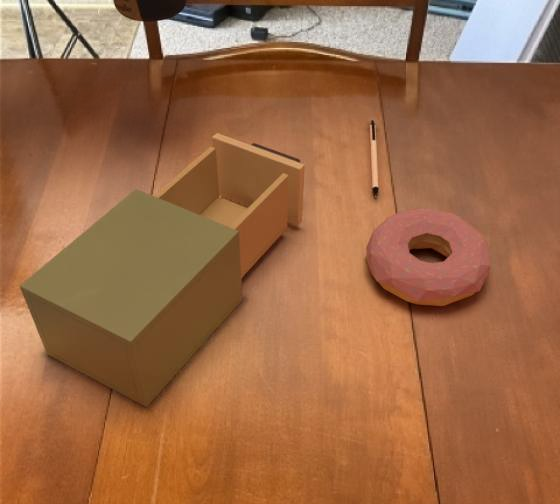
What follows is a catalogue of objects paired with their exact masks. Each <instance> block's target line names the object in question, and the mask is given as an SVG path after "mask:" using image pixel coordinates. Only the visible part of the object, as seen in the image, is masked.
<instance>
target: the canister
mask: <svg viewBox="0 0 560 504" xmlns="http://www.w3.org/2000/svg"><path fill="white" fill-rule="evenodd" d="M187 1H188V0H112V2H113V5H114V7H115V9H116V11H117V12H118V13H119V14H120V15H121V16H123V17H125V18H127V19H129V20H131V21H136V22H143V23H144V22H159V21H166V20H168V19H171V18H174V17H176V16H177V15H179V14H181V12H183V10H184V9H185V7H186V5H187Z"/></svg>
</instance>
